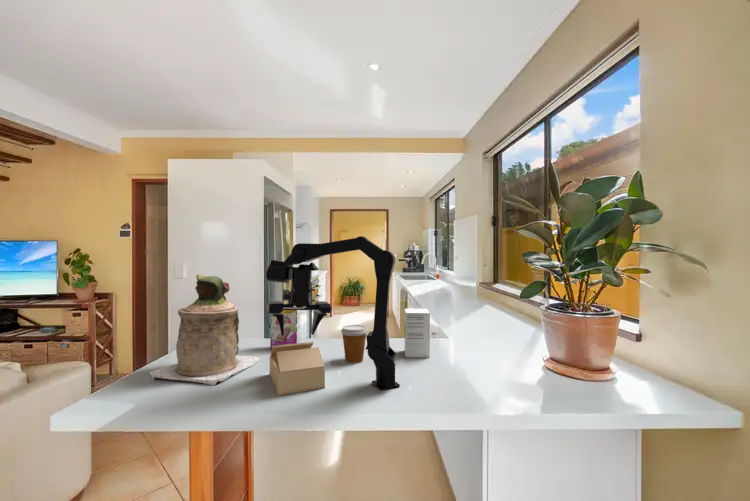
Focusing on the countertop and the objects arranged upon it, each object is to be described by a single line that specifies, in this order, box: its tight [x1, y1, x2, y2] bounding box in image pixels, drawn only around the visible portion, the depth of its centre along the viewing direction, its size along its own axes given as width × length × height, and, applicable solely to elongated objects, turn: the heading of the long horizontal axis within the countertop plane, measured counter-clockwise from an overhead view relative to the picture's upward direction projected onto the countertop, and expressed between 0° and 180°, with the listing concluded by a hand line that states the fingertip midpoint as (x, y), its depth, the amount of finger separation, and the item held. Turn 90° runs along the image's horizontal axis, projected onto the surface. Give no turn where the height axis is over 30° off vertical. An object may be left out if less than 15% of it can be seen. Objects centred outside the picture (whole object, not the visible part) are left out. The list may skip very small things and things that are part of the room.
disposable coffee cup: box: [340, 324, 368, 364], centre depth 128 cm, size 10×10×12 cm
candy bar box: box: [269, 310, 302, 350], centre depth 143 cm, size 11×5×16 cm, turn 84°
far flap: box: [270, 341, 314, 356], centre depth 113 cm, size 7×12×1 cm
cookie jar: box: [149, 273, 260, 386], centre depth 117 cm, size 25×25×32 cm
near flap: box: [277, 346, 325, 373], centre depth 101 cm, size 7×12×1 cm
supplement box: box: [404, 308, 431, 359], centre depth 136 cm, size 10×9×17 cm
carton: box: [269, 355, 326, 396], centre depth 107 cm, size 18×13×6 cm
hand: (297, 335), depth 108 cm, fingers open, 9 cm apart
